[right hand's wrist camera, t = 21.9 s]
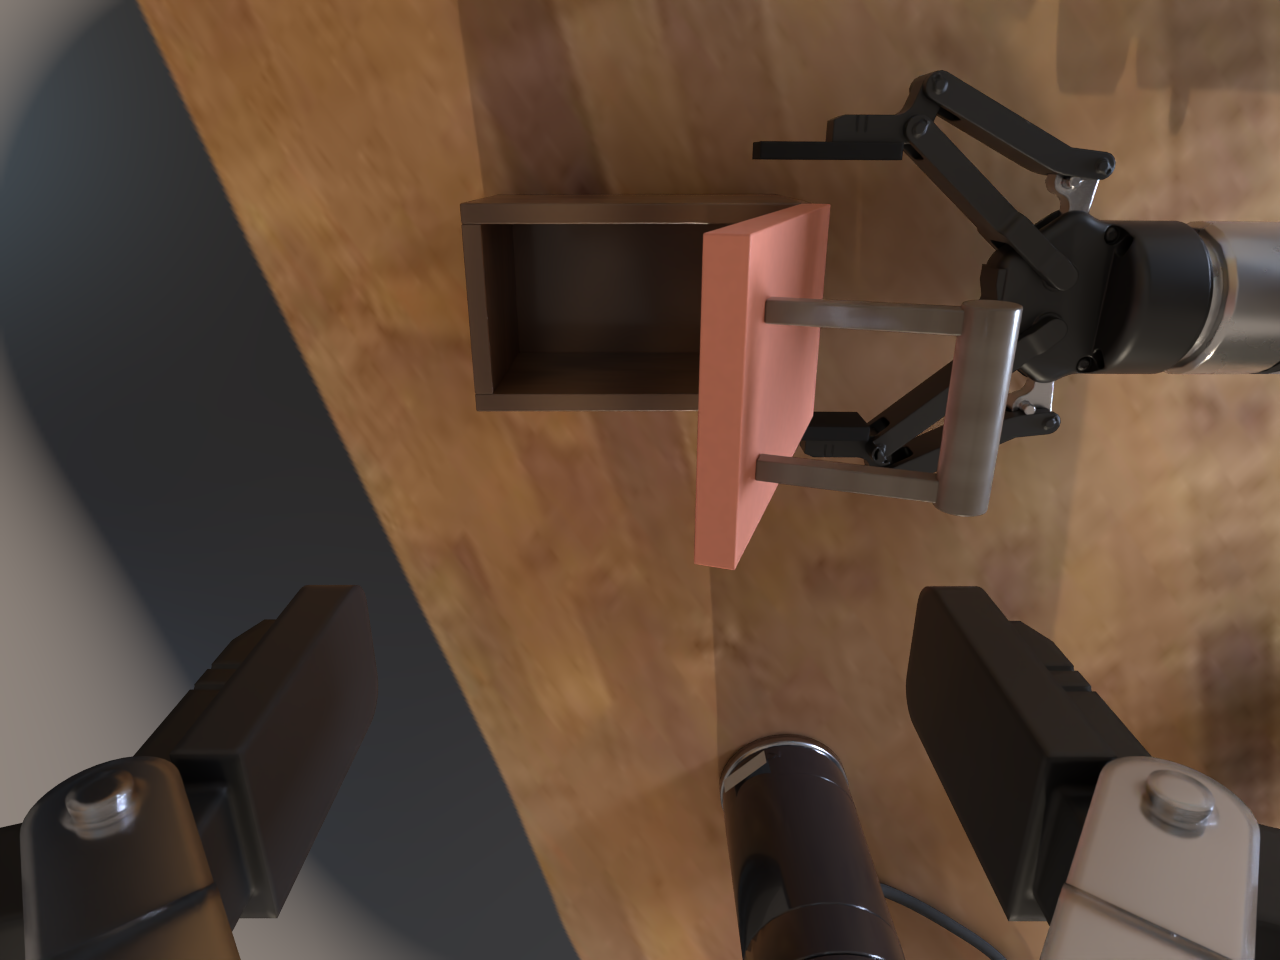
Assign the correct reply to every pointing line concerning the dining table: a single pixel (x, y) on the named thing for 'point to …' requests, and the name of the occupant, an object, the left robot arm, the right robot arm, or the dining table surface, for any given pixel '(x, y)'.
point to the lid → (786, 378)
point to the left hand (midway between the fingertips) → (747, 296)
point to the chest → (591, 297)
